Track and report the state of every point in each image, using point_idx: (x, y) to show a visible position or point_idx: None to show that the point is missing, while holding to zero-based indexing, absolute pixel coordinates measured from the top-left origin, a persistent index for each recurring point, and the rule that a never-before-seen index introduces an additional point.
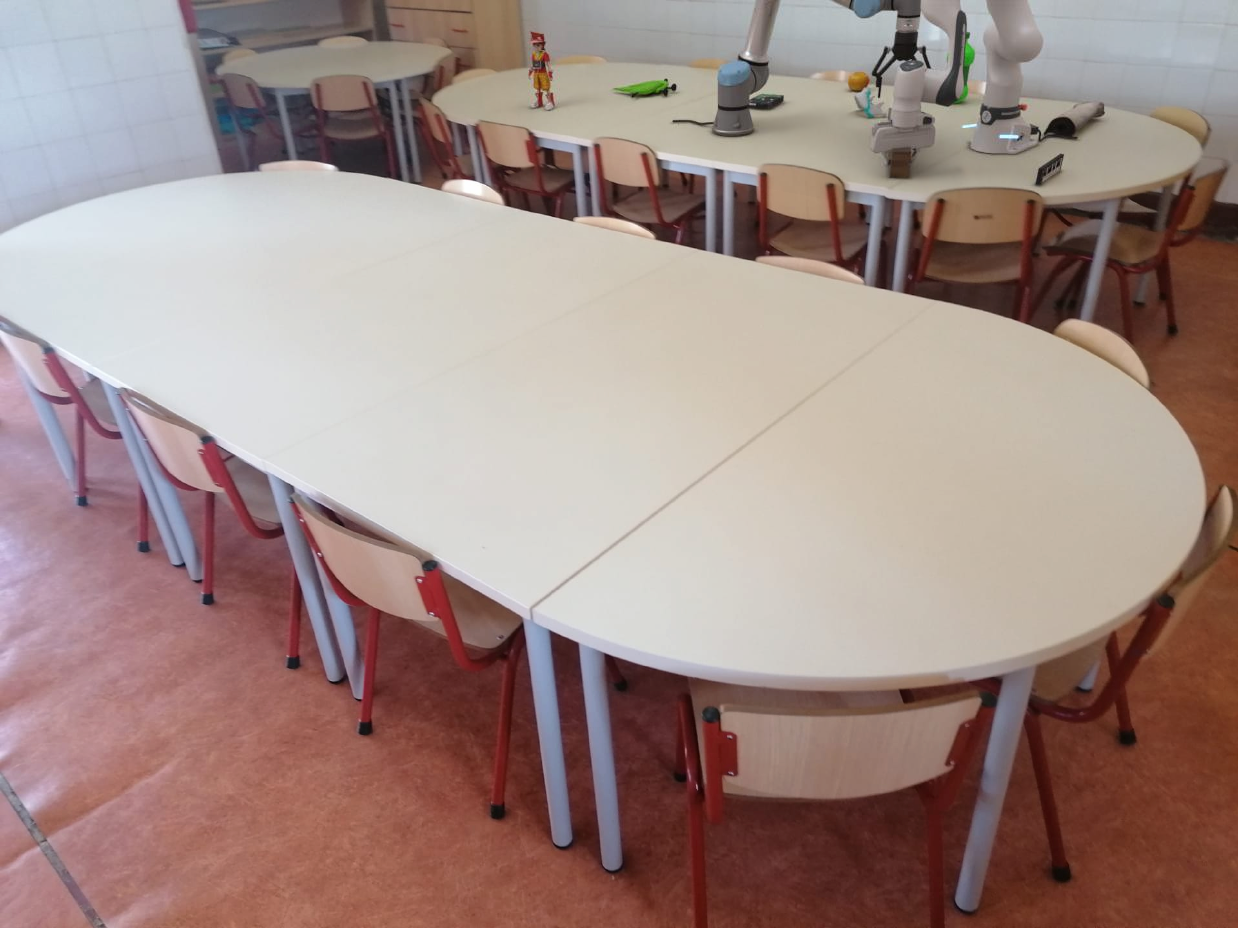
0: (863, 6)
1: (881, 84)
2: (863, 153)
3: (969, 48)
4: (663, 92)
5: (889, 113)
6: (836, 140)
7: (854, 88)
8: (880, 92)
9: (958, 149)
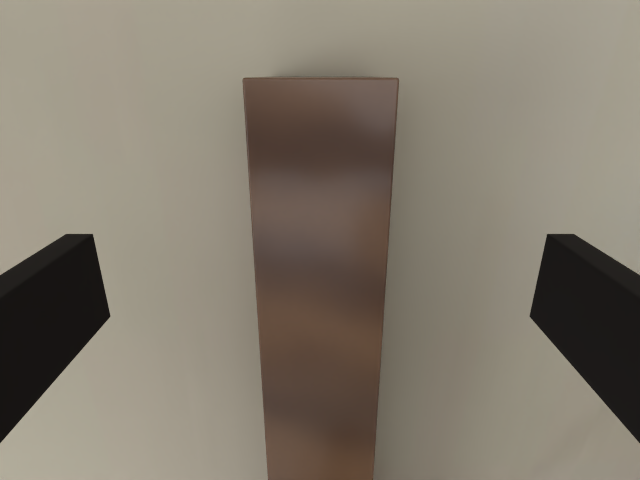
0: None
1: (3, 434)
2: (182, 452)
3: None
4: None
5: (256, 276)
6: (7, 270)
7: None
8: (72, 354)
9: None
